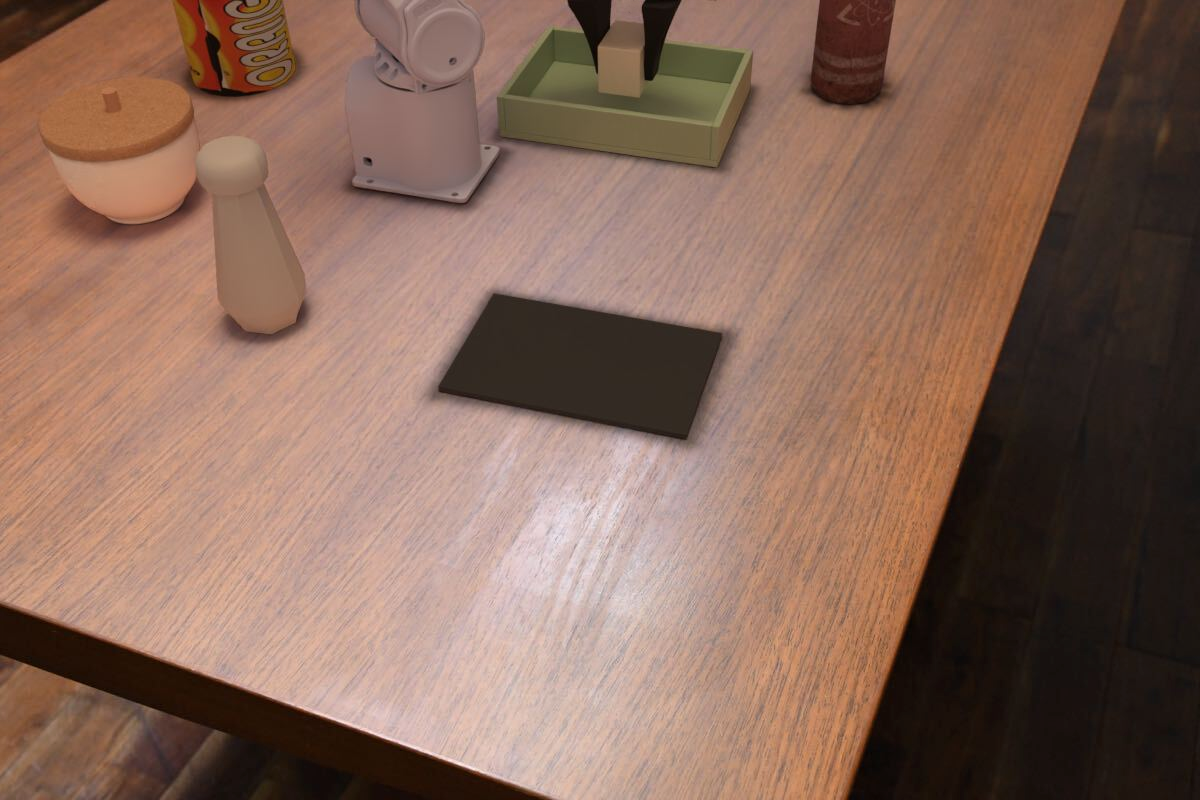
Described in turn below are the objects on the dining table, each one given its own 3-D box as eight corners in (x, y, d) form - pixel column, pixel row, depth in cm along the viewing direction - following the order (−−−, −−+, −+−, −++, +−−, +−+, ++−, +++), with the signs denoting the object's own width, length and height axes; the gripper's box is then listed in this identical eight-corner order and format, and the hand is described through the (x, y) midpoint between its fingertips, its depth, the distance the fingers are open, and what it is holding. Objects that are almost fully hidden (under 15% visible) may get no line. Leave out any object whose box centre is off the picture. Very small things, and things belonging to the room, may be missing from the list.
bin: (499, 136, 99) (496, 96, 97) (550, 63, 108) (548, 25, 106) (716, 167, 95) (719, 127, 93) (750, 89, 104) (753, 50, 102)
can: (893, 81, 105) (920, -82, 96) (864, 112, 101) (889, -54, 92) (829, 64, 108) (849, -96, 98) (798, 94, 104) (815, -70, 94)
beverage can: (174, 91, 106) (137, -45, 98) (220, 44, 112) (188, -87, 104) (270, 100, 104) (240, -37, 96) (311, 53, 111) (286, -79, 102)
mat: (438, 391, 76) (437, 386, 76) (493, 297, 83) (493, 292, 83) (686, 439, 73) (686, 434, 72) (722, 337, 80) (722, 332, 79)
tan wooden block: (598, 92, 98) (597, 46, 96) (615, 64, 102) (615, 19, 99) (639, 98, 98) (640, 51, 95) (655, 70, 101) (656, 24, 98)
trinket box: (177, 249, 88) (142, 135, 82) (43, 234, 90) (-2, 121, 83) (238, 171, 96) (210, 61, 89) (114, 159, 97) (78, 50, 91)
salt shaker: (237, 353, 79) (189, 182, 70) (215, 305, 83) (166, 137, 74) (323, 326, 81) (287, 156, 72) (298, 280, 85) (260, 114, 76)
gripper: (735, -107, 91) (724, 60, 100) (552, -124, 95) (558, 39, 104) (714, -72, 86) (705, 101, 95) (522, -92, 90) (531, 77, 99)
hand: (627, 72), depth 99 cm, fingers closed on tan wooden block, 3 cm apart
